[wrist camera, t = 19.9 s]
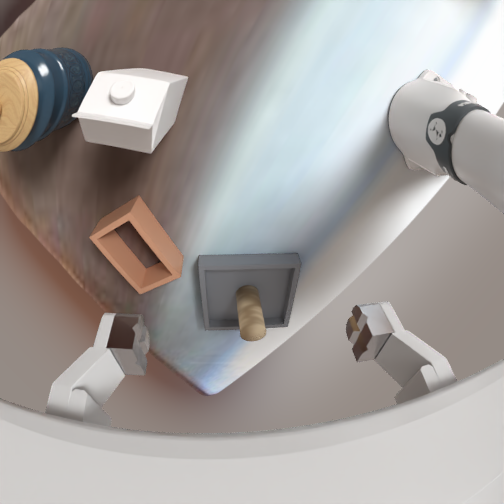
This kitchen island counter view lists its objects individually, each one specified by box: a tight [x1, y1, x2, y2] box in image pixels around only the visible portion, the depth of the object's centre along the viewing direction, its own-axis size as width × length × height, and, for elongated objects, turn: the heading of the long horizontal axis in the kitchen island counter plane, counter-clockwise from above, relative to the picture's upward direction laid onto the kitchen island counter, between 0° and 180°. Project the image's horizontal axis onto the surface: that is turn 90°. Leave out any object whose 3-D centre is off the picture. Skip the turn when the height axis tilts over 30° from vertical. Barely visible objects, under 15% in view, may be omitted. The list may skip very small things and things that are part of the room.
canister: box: [0, 48, 93, 152], centre depth 22 cm, size 13×13×18 cm
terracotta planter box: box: [89, 196, 184, 294], centre depth 45 cm, size 9×14×6 cm, turn 24°
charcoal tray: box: [198, 253, 301, 330], centre depth 56 cm, size 18×18×3 cm
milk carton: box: [72, 68, 188, 154], centre depth 26 cm, size 7×7×19 cm
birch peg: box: [236, 285, 266, 341], centre depth 52 cm, size 4×4×10 cm
